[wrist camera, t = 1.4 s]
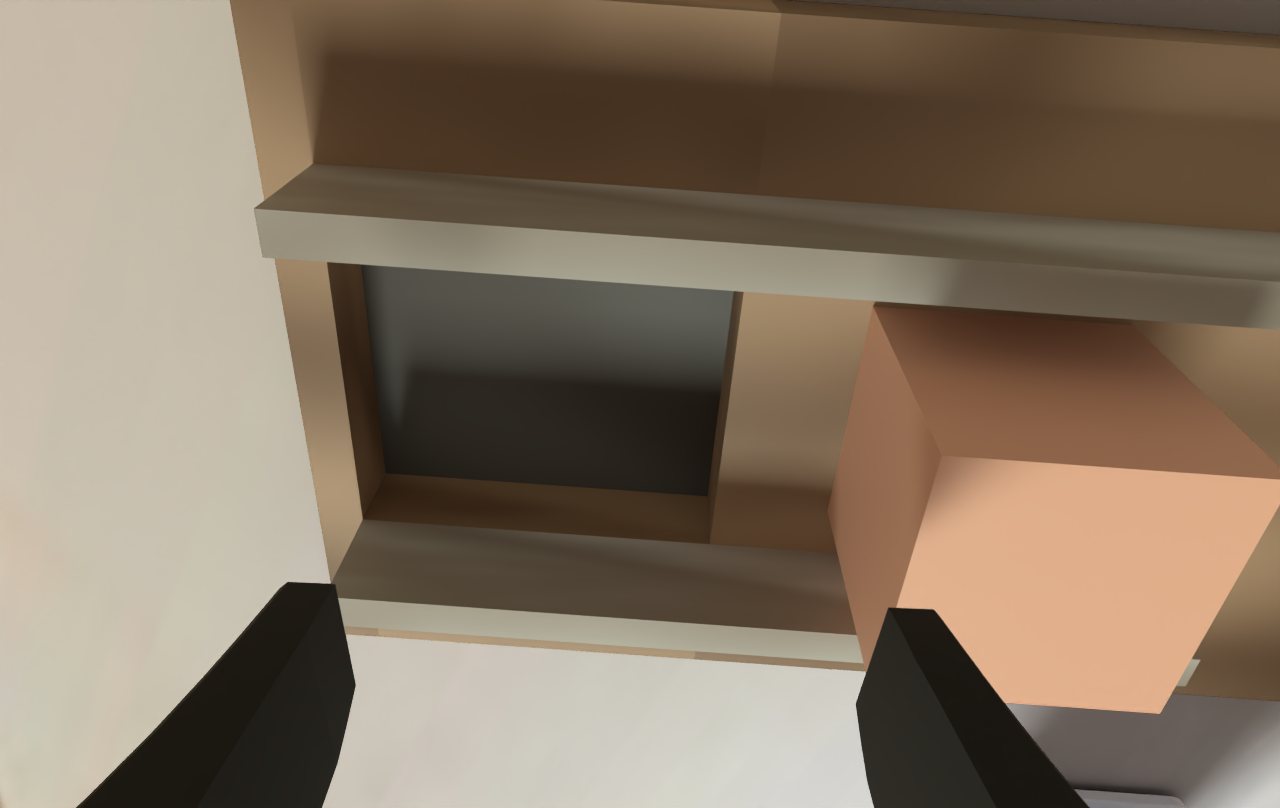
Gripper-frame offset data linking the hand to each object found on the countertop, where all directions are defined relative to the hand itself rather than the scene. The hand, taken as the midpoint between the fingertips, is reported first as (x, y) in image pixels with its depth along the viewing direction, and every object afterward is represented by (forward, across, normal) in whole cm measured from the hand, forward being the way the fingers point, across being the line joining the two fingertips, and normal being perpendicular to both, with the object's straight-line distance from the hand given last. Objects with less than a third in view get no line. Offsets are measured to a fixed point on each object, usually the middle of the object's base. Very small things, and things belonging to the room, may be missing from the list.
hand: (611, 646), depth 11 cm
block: (+7, -7, +1) cm, 10 cm away
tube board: (+9, -8, +1) cm, 12 cm away
